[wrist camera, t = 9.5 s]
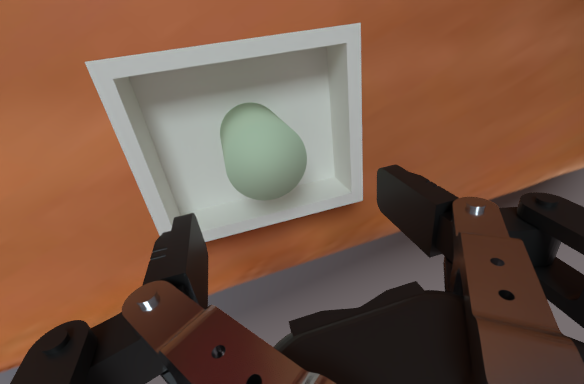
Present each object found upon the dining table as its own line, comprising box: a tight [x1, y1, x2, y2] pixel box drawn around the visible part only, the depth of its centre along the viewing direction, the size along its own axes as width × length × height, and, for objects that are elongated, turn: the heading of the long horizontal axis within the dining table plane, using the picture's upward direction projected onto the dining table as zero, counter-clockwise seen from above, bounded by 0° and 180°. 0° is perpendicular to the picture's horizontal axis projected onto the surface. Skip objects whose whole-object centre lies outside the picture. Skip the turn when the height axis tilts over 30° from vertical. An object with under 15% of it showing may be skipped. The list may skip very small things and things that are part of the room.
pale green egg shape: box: [220, 103, 307, 200], centre depth 19 cm, size 5×5×7 cm
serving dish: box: [85, 23, 363, 242], centre depth 21 cm, size 16×13×4 cm
